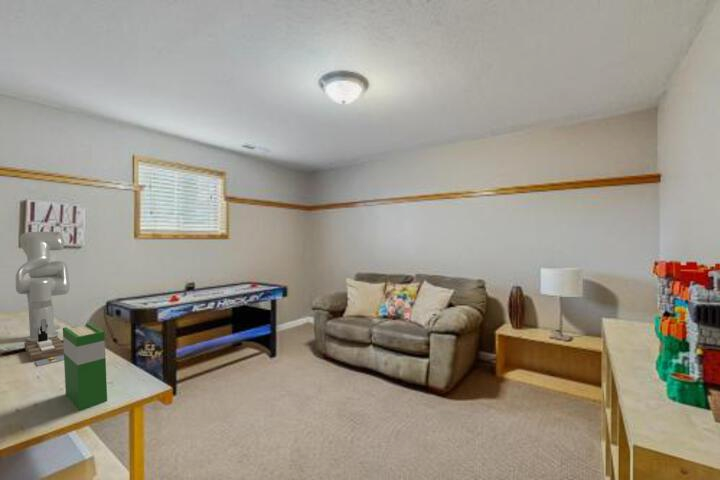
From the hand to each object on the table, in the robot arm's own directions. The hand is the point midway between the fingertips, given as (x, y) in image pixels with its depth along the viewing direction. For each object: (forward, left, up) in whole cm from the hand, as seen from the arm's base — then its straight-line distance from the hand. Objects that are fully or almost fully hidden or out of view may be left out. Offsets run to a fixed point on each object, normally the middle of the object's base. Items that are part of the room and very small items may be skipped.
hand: (43, 341), depth 163 cm
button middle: (+5, +5, -1) cm, 7 cm away
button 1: (0, 0, -2) cm, 2 cm away
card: (+17, +17, -3) cm, 25 cm away
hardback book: (+54, +57, -4) cm, 78 cm away
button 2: (+10, +10, -2) cm, 14 cm away
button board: (+5, +5, -3) cm, 7 cm away
